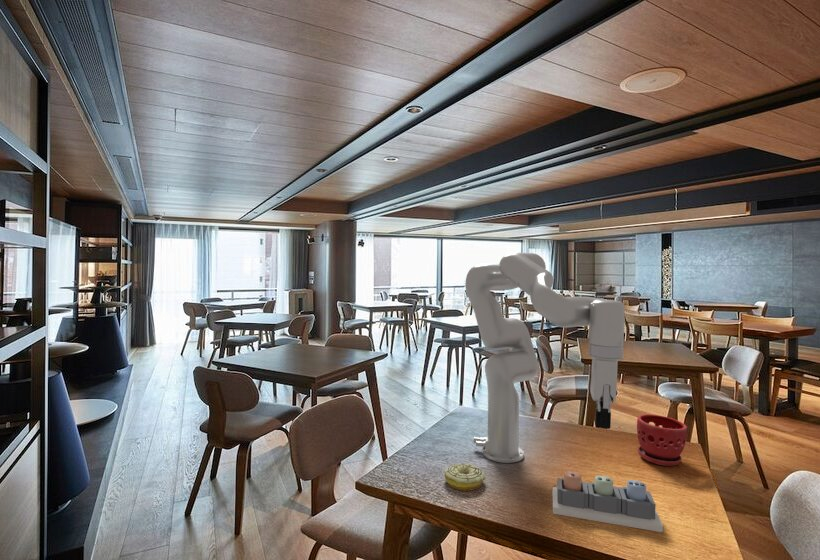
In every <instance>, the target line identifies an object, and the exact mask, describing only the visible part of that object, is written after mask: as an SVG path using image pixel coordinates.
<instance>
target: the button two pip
mask: <svg viewBox="0 0 820 560" xmlns="http://www.w3.org/2000/svg"><path fill="white" fill-rule="evenodd" d="M594 482H595V493H594V494H599V495H606V496H612V497H613V486H614V480H613V479H612V478H611V477H609V476H606V475H595V476H594Z"/></svg>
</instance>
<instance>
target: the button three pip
mask: <svg viewBox="0 0 820 560" xmlns="http://www.w3.org/2000/svg"><path fill="white" fill-rule="evenodd" d="M626 487H627V499H632V500H638V501H644V502H646V491H647V485H646V483H644V482H642V481H639V480H636V479H635V480H634V479H629V480H627V481H626Z"/></svg>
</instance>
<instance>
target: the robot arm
mask: <svg viewBox="0 0 820 560" xmlns="http://www.w3.org/2000/svg"><path fill="white" fill-rule="evenodd" d="M553 285H554V276H553V274H552V273H551V271H549V270H548V269H547V267H546V262H545V260H544V259H543V257H542V256H541V255H539V254H537V253H534V252H510V253H507V254H505V255H504V256H503V257H501V259H500V261H499V263H479V264H477V265H474V266H472V267H471V268H470V269H469V270H468V272H467V273H466V277H465V286H464V287H465V292H466V295H467V298H468V300H469V302H470V304H471V307H472V310H473V312H474V317H475V319H476V323H477V326H478V331H479V334H480V338H481V341H482V344H483V345H484V347H485V348H486V349H488V350H491V351H492V350H493V351H494V350H504V349H509V351H505V352H498V353H494V354H493V355H491V356H489V358H487V359H486V362H485V365H484V373H485V378H486V384H487V435H486V436H484V437H480V436H473V440H472V441H473V444H475V446H476V447H482V449H481V452H482V455H483V456H484V457H485V458H487V459H488V460H490V461H494V462H497V463H503V464H511V463H518V462H520V461H522V460H523V459H524V457H525V453H524V450H523V449H522V448H521V447H520V445H519V444H520V439H519V438H520V397H519V394H518V391H517V389H516V387H515V384H517V383H521V382H527V381H531V380H533V379H535V377H536V376H537V375H538V372H539V362H538V358H537V354H536V351H535V348H534V345H533V341H532V339H531V338H532V337H531V335H530V331H529V329H528V327H527V325H526V324H525V323H524V322H523V321H522V320H520V319H518V318H513V317H512V318H511V317H510V318H505V317H504V314H503V312H502V308H501V304H500V303H499V302H498V300H497V298H496V296H494V295H493V294H492V293H491V291H507V290H510V291H511V290H513V289H514V290H515V289H517V288H519V289H520V290H521V291H523V292H524V293H525V294H527V295H529V300H530V303H531V304H532V306H533V309H534V310H535V311H536V312H537V313H538V315H541V316H542V317H543V318H544V319H546V320H547V321H548V322H549V323H551V324H553V325H554V326H557V327H560V328H563V329H564V328H566V329H567V328H573V327H574V328H575V327H589V333H588V334H589V335H588V336H589V337H588V338H589V341H588V357H589V358H591V359H592V361H591V371H590V373H591V375H590V388H589V389H590V390H589V391H590V395H591V399H592V400H593V402H596V408H595V422H594V423H595V427H596V428H600V429H607V430H610V429H611V426H612V425H611V423H612V422H611V421H612V411H611V408H612V407H611V406H612V404H614V403H615V402H616V400H617V386H618V362H619V361H623V360H624V359H623V358H624V341H625V336H624V335H625V317H626V315H625V312H626V306H625V304H624V303H623V302H622V301H619V300H614V299H599V298H596V297H591V296H567V297H566V296H562V295H560V294H559V293H557V292H556V291H555V290H553V289H552V287H553Z"/></svg>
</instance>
